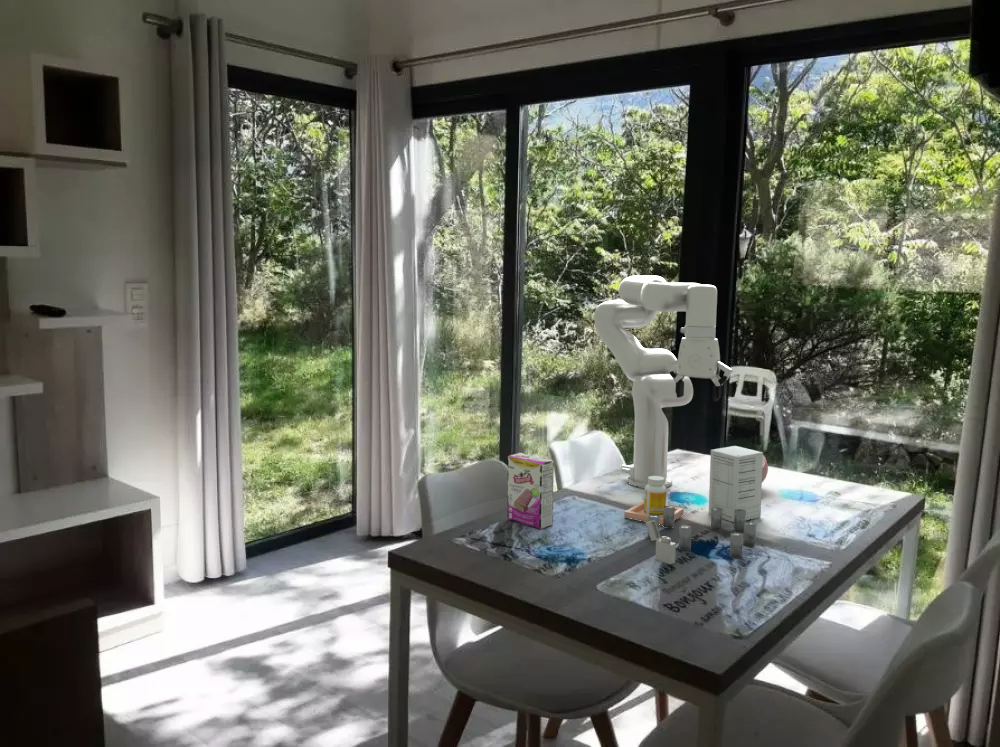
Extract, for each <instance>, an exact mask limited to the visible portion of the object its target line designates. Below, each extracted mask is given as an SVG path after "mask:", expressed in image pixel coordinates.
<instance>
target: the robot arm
mask: <svg viewBox="0 0 1000 747" xmlns="http://www.w3.org/2000/svg"><path fill="white" fill-rule="evenodd" d="M617 291H618V295H619V297H620V299H613V300H606V301H604V302H602V303H600V304H599V305H597V307H596V308H595V311H594V314H593V315H594V316H593V317H594V325H595V329H596V332H597V334H598V337H599V338H600V339H601V341H602V342H603V344H605V346H606V347H607V348H608V350H609V351H610V352H611V353H612V355H613V356H614V359H615V360H616V362H617V364H618V365H619V367H620V368H621V370H622V371H623V373H624V374H625V375H624V376H626V378H627V379H628V380H630V381H631V382H633V383H632V387H631V394H632V400H633V401H632V402H633V409H634V431H633V432H634V436H633V437H634V438H633V439H634V441H633V442H634V443H633V464H632V465H628V464H622V465H621V473H625V474H629V476H628V477H627V483H628V482H629V483H630V484H629V483H628V484H629V485H631V484H632V485H631V486H633V485H635V486H634V487H636V486H639V487H638V488H641V487H644V488H643V489H645V486H646V485H648V484H649V483H648V477H649V476H661V477H663V478H664V484H663V485H664V486H665V487H666V488H669V487H670V486H672V484H673V479H672V478H670V477H669V476H667V474H668V449H669V448H668V447H669V420H668V419H667V417H666V414H665V413H664V411H663V410H662V409H663V408H672V407H681V406H685V405H687V404H689V403H690V402H691V401H692V399H693V396H694V387H693V383H692V380H691V379H690V378H695V379H710V380H711V381H712V382H713V384H714V385H713V386H712V398H711V399H712V400H711V401H712V402H718V401H719V400H720V398H721V397H722V386H723V385H724V384H725V382H727V381H728V380H729V378H730V377H731V375H732V374H733V372H734V370H733V369H732V368H731V367H729V366H728V365H726V364H724V363H723V362H721V354H720V345H719V340H718V338H716V331H717V330H716V326H717V305H718V289H717V287H716V286H715V285H712V284H701V283H697V282H667V281H666V279H665V278H664V277H662V276H659V275H631V276H628V277H625V278H624V279H623V280H622V281H621V282H620V283H619V285H618V290H617ZM659 312H661V313H669V312H671V313H672V312H673V313H674V312H685V325H684V327H681V328H680V330H679V332H680V333H681V334H684V336H685V337H682V338H681V341H680V344H679V349H678V356H677V357H676V356H675V355H674V353H672V352H671V351H670V350H668V349H666V348H646V347H643V345H642V344H641V342H640V341H639V339H638V338H637V337H636V336H635V335H634V334H633V333H632V332H630V331H628V330H626V329H628V328H632V329H633V328H643V327H646V326H648V325H649V324H650V323H651V322H652V321H653V320H654V318H655V317H656V316H657V314H658V313H659ZM721 370H722V372H724V373H723V376H721V377H720V373H721Z"/></svg>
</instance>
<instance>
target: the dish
mask: <svg viewBox="0 0 1000 747" xmlns="http://www.w3.org/2000/svg"><path fill="white" fill-rule="evenodd" d="M674 507H675V514H674V522H675V520H676V519H677V520H678V518H679V517H680V518H682V517H683V516H684V509H685V508H682V507H678V506H677V507H676V506H674ZM682 515H683V516H682ZM681 516H682V517H681ZM625 517H626V518H632V519H637V520H641V521H646V522H648V515H646V514H644V500H642V501H641V502H639V503H638V504H635V505H634V506H632V507H630V508H629V509H627V510H625V511H624V518H625ZM680 518H679V519H680ZM677 520H676V521H677ZM659 524H660V525H663V517H659Z"/></svg>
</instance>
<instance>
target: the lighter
mask: <svg viewBox="0 0 1000 747" xmlns="http://www.w3.org/2000/svg"><path fill="white" fill-rule="evenodd" d="M645 525H646V528H647V531H648V532H649V535H650V538H649V539H650V540H651V542H653V541H655V560H656V561H658V562H659V561H660V562H661V563H662V562H663V563H665V564H668V565H673V564H675V563H676V548H677V547H676V542H672V538H671V537H669V536H665V535H663V536H661V535H660V530H659V531H658V528H657V525H656V522H655V520H652V521H649V522H646V523H645Z"/></svg>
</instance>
